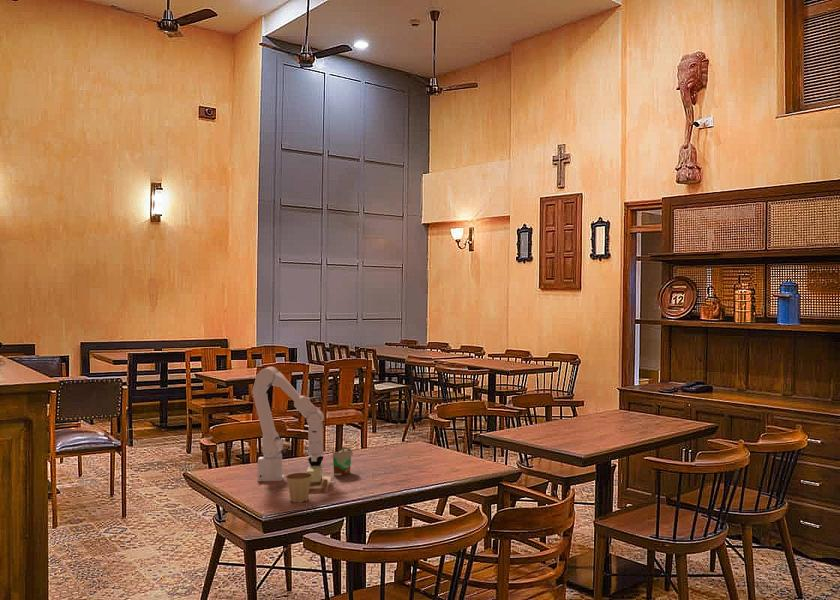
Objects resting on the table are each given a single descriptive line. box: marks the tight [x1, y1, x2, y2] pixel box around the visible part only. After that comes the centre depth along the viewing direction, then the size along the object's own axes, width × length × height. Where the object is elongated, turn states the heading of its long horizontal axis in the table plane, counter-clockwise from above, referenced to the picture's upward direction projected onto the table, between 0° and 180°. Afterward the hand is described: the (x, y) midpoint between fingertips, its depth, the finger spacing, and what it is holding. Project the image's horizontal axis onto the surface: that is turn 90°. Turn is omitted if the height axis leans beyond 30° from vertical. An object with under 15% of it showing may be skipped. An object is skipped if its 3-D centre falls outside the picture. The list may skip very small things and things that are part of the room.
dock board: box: [309, 476, 332, 494], centre depth 267 cm, size 12×23×2 cm, turn 3°
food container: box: [332, 446, 354, 477], centre depth 283 cm, size 12×6×10 cm, turn 168°
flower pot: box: [285, 472, 313, 503], centre depth 247 cm, size 9×9×9 cm
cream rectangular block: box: [306, 465, 323, 485], centre depth 269 cm, size 5×10×5 cm, turn 3°
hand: (315, 475), depth 276 cm, fingers closed
